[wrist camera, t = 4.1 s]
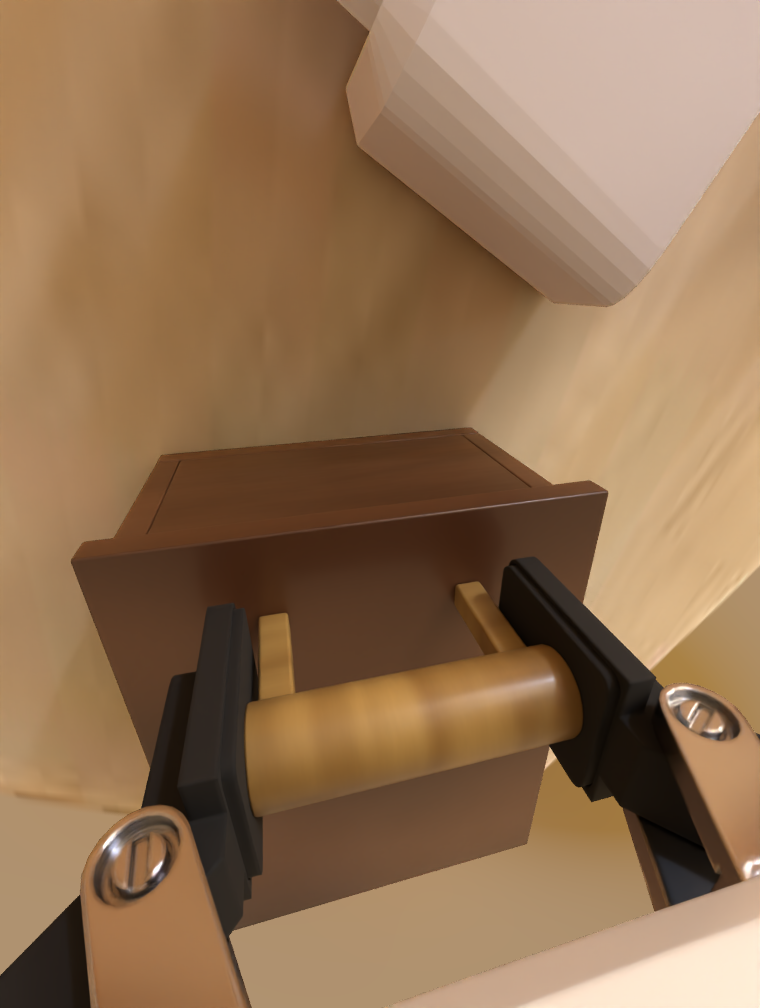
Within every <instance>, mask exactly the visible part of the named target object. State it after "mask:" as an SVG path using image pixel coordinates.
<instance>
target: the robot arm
mask: <svg viewBox="0 0 760 1008" xmlns="http://www.w3.org/2000/svg"><path fill="white" fill-rule="evenodd" d="M498 608H499V610H500V611H501V612H502V614H503V615H504V616H505V618H506V619H507V620H508V622H509V623H510V625H511V626H512V627H513V629H514V630H515V631H516V633H517V634H518V636H519V637H520V638H521V640H522V641H523V642H524V644H525V645H526V647H529V646H534V645H539V644H544V645H548V646H550V647H552V648H553V649H555V650H556V651H557V652H558V653H559V654H560V655H561V656H562V658H563V659H564V660H565V662H566V663H567V665H568V666H569V668H570V670H571V672H572V674H573V676H574V678H575V680H576V683H577V686H578V689H579V692H580V695H581V700H582V705H583V726H582V729H581V731H580V733H579V734H578V735H577V736H576V737H575V738H573V739H570V740H566V741H562V742H558V743H554V744H550V745H549V746H550V748H551V749H552V751H553V753H554V754H555V756H556V757H557V759H558V761H559V762H560V764H561V765H562V767H563V769H564V770H565V772H566V773H567V775H568V777H569V778H570V780H571V781H572V782H573V784H574V785H575V786H577V787H582V788H583V790H584V791H585V793H586V794H587V796H588V797H589V799H590V800H591V802H594V801H597V800H601V799H604V798H608V797H611V796H614V798H615V799H616V801H617V802H618V803H619V805H620V806H621V807H623V811H624V814H625V817H626V821H627V824H628V827H629V830H630V833H631V837H632V840H633V843H634V846H635V850H636V853H637V856H638V859H639V863H640V866H641V869H642V872H643V875H644V879H645V882H646V885H647V888H648V892H649V895H650V898H651V901H652V905H653V908H654V911H655V912H653V913H650V914H647V915H644V916H641V917H638V918H635V919H632V920H630V921H627V922H624V923H621V924H618V925H615V926H612V927H610V928H607V929H604V930H601V931H598V932H595V933H593V934H590V935H587V936H584V937H581V938H578V939H575V940H572V941H570V942H567V943H564V944H561V945H558V946H555V947H552V948H549V949H547V950H544V951H541V952H538V953H536V954H532V955H530V956H527V957H524V958H521V959H519V960H515V961H512V962H510V963H507V964H504V965H501V966H498V967H495V968H493V969H490V970H487V971H484V972H481V973H478V974H476V975H473V976H470V977H467V978H464V979H462V980H459V981H456V982H453V983H450V984H448V985H445V986H442V987H439V988H436V989H433V990H431V991H428V992H425V993H422V994H419V995H417V996H414V997H411V998H408V999H405V1000H403V1001H400V1002H397V1003H394V1004H391V1005H389V1006H386V1007H383V1008H760V735H759V734H757V733H755V732H754V730H753V729H752V727H751V726H750V724H749V723H748V721H747V720H746V718H745V717H744V716H743V715H742V713H741V712H740V711H739V710H738V709H737V708H736V707H735V706H734V705H733V704H732V703H730V702H729V701H728V700H726V699H725V698H723V697H722V696H720V695H718V694H717V693H715V692H713V691H711V690H708V689H706V688H704V687H701V686H698V685H693V684H689V683H674V684H671V685H668V686H666V687H665V688H663V687H662V686H661V685H660V684H659V683H658V682H657V681H656V680H655V679H656V677H655V676H654V675H653V674H652V673H651V672H650V671H649V670H648V669H647V668H646V667H645V666H644V665H643V664H642V663H641V662H640V661H639V660H638V659H637V658H636V657H635V656H634V655H633V654H632V653H631V652H630V651H629V650H628V649H627V648H626V647H625V646H624V645H623V644H622V643H621V642H620V641H619V640H618V639H617V638H616V637H615V636H614V635H613V634H612V633H611V632H610V631H609V630H608V629H607V628H606V627H605V626H604V625H603V624H602V623H601V622H600V621H599V620H598V619H597V618H596V617H595V616H594V615H593V614H592V613H591V612H590V611H589V610H588V609H587V608H586V607H585V606H584V605H583V604H582V603H581V602H580V601H579V600H578V599H577V598H576V597H575V596H574V595H573V594H572V593H571V592H570V591H569V590H568V589H567V588H566V587H565V586H564V585H563V584H562V583H561V582H560V581H559V580H558V579H557V578H556V577H555V576H554V574H553V573H552V572H551V571H550V570H549V569H548V568H547V567H546V566H545V565H544V564H543V563H542V562H541V561H540V560H539V559H537V558H536V557H533V556H532V557H525V558H519V559H513V560H511V561H510V563H509V566H506V567H505V568H504V570H503V576H502V584H501V592H500V599H499V607H498ZM257 700H258V675H257V669H256V664H255V659H254V654H253V648H252V643H251V638H250V633H249V627H248V622H247V617H246V612H245V608H239V609H236V607H235V604H234V603H229V604H222V605H216V606H209V607H207V610H206V615H205V621H204V627H203V633H202V640H201V646H200V652H199V658H198V664H197V670H196V671H195V672H190V673H185V674H179V675H174V676H173V677H172V679H171V681H170V684H169V688H168V693H167V697H166V702H165V706H164V710H163V715H162V719H161V724H160V728H159V732H158V737H157V741H156V746H155V750H154V754H153V759H152V763H151V768H150V772H149V776H148V781H147V785H146V790H145V794H144V798H143V803H142V807H141V809H139V810H137V811H134V812H132V813H130V814H128V815H127V816H125V817H124V818H123V819H121V820H120V821H118V822H117V823H116V824H114V825H113V826H112V827H111V828H110V829H109V830H108V831H107V833H106V834H104V835H103V837H102V838H101V839H100V840H99V841H98V843H97V844H96V846H95V847H94V849H93V851H92V852H91V854H90V855H89V857H88V859H87V862H86V865H85V867H84V870H83V873H82V876H81V889H80V895H79V896H78V897H77V898H76V899H75V900H74V901H73V902H72V903H71V904H70V905H69V907H67V908H66V909H65V910H64V911H63V912H62V914H60V915H59V916H58V917H57V919H55V920H54V921H53V923H52V924H51V925H50V926H49V927H48V928H47V929H46V930H45V931H44V932H43V933H42V934H41V935H40V936H39V937H38V938H37V939H36V940H35V941H34V942H33V943H32V944H31V945H30V946H29V947H28V948H27V949H26V950H25V951H24V952H23V953H22V954H21V955H20V956H19V957H18V958H17V959H16V960H15V961H14V962H13V963H12V964H11V965H10V966H9V967H8V968H7V969H6V970H5V971H4V972H3V973H2V974H1V976H0V1008H252V1007H251V1004H250V1001H249V998H248V995H247V992H246V988H245V985H244V982H243V979H242V976H241V973H240V970H239V967H238V963H237V960H236V957H235V954H234V951H233V947H232V944H231V941H230V938H229V935H230V934H231V933H232V931H233V930H234V928H235V927H236V925H237V924H238V922H239V921H240V920H241V918H242V917H243V901H245V900H248V899H252V877H255V876H259V875H262V872H263V816H261V817H254V816H253V814H252V811H251V807H250V803H249V797H248V790H247V781H246V771H245V756H244V717H245V709H246V705H247V704H248V703H249V702H252V701H257Z"/></svg>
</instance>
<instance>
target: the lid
mask: <svg viewBox="0 0 760 1008" xmlns="http://www.w3.org/2000/svg"><path fill="white" fill-rule="evenodd" d="M607 497H608V491H607V490H605V489H603V488H602V487H600V486H599V485H597V484H595V483H594V482H592V481H581V482H572V483H564V484H556V485H548V486H540V487H531V488H523V489H515V490H507V491H498V492H490V493H482V494H474V495H465V496H457V497H449V498H441V499H432V500H424V501H416V502H408V503H399V504H391V505H383V506H375V507H367V508H358V509H350V510H342V511H334V512H325V513H317V514H309V515H301V516H292V517H284V518H276V519H268V520H259V521H251V522H243V523H235V524H227V525H218V526H210V527H202V528H194V529H185V530H177V531H169V532H161V533H152V534H144V535H136V536H128V537H119V538H111V539H103V540H95V541H86V542H83V543H82V544H81V546H80V547H79V549H78V550H77V552H76V553H75V555H74V556H73V558H72V559H71V564H72V566H73V569H74V571H75V574H76V577H77V579H78V582H79V584H80V587H81V590H82V592H83V595H84V597H85V600H86V603H87V605H88V608H89V610H90V613H91V616H92V618H93V621H94V623H95V626H96V628H97V631H98V634H99V636H100V639H101V641H102V644H103V647H104V649H105V652H106V654H107V657H108V660H109V662H110V665H111V667H112V670H113V673H114V675H115V678H116V680H117V683H118V685H119V688H120V691H121V693H122V696H123V698H124V701H125V704H126V706H127V709H128V711H129V714H130V717H131V719H132V722H133V724H134V727H135V729H136V732H137V735H138V737H139V740H140V742H141V745H142V748H143V750H144V753H145V755H146V758H147V761H148V763H149V766H150V768H151V763H152V759H153V754H154V750H155V746H156V741H157V737H158V732H159V728H160V724H161V719H162V715H163V710H164V706H165V702H166V697H167V693H168V688H169V684H170V681H171V679H172V677H173V676H174V675H179V674H185V673H190V672H195V671H196V670H197V664H198V658H199V652H200V646H201V640H202V633H203V627H204V621H205V615H206V610H207V607H209V606H216V605H222V604H229V603H234V604H235V607H236V609H239V608H245V612H246V617H247V622H248V627H249V633H250V638H251V643H252V648H253V654H254V659H255V664H256V669H257V675H258V700H257V701H252V702H249V703H248V704H247V705H246V709H245V717H244V756H245V771H246V781H247V790H248V797H249V803H250V807H251V811H252V814H253V816H254V817H261V816H263V872H262V875H259V876H255V877H252V899H248V900H245V901H243V917H242V918H241V920H240V921H239V922H238V924H237V925H236V927H235V928H234V930H237V929H240V928H243V927H247V926H250V925H254V924H257V923H261V922H264V921H267V920H271V919H274V918H277V917H281V916H284V915H287V914H291V913H294V912H298V911H301V910H305V909H308V908H311V907H315V906H318V905H321V904H325V903H328V902H332V901H335V900H338V899H342V898H345V897H349V896H352V895H355V894H359V893H362V892H366V891H369V890H372V889H376V888H379V887H382V886H386V885H389V884H393V883H396V882H399V881H403V880H406V879H410V878H413V877H416V876H420V875H423V874H426V873H430V872H433V871H437V870H440V869H443V868H447V867H450V866H453V865H457V864H460V863H464V862H467V861H470V860H474V859H477V858H481V857H484V856H487V855H491V854H494V853H497V852H501V851H504V850H507V849H511V848H514V847H518V846H521V845H525V844H527V841H528V836H529V832H530V829H531V824H532V820H533V815H534V811H535V807H536V803H537V798H538V794H539V790H540V785H541V781H542V777H543V772H544V768H545V764H546V760H547V755H548V751H549V747H550V746H549V745H550V744H554V743H558V742H562V741H566V740H570V739H573V738H575V737H576V736H577V735H578V734H579V733H580V731H581V729H582V726H583V705H582V700H581V695H580V692H579V689H578V686H577V683H576V680H575V678H574V676H573V674H572V672H571V670H570V668H569V666H568V665H567V663H566V662H565V660H564V659H563V658H562V656H561V655H560V654H559V653H558V652H557V651H556V650H555V649H553V648H552V647H550V646H548V645H544V644H539V645H534V646H529V647H526V645H525V644H524V642H523V641H522V640H521V638H520V637H519V636H518V634H517V633H516V631H515V630H514V629H513V627H512V626H511V625H510V623H509V622H508V620H507V619H506V618H505V616H504V615H503V614H502V612H501V611H500V610H499V608H498V607H499V599H500V592H501V584H502V576H503V570H504V568H505V567H506V566H509V563H510V561H511V560H513V559H519V558H525V557H532V556H533V557H536V558H537V559H539V560H540V561H541V562H542V563H543V564H544V565H545V566H546V567H547V568H548V569H549V570H550V571H551V572H552V573H553V574H554V576H555V577H556V578H557V579H558V580H559V581H560V582H561V583H562V584H563V585H564V586H565V587H566V588H567V589H568V590H569V591H570V592H571V593H572V594H573V595H574V596H575V597H576V598H577V599H578V600H579V601H580V602H581V603H582V604H583V600H584V596H585V592H586V587H587V583H588V579H589V574H590V570H591V566H592V562H593V557H594V553H595V549H596V544H597V540H598V536H599V531H600V527H601V523H602V518H603V514H604V510H605V506H606V501H607ZM234 930H233V931H234Z"/></svg>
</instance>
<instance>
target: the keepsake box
mask: <svg viewBox="0 0 760 1008" xmlns="http://www.w3.org/2000/svg"><path fill="white" fill-rule="evenodd" d="M548 485H553V484H551V483H550V482H548V481H547V480H546V479H544V478H543V477H541V476H540V475H538V474H537V473H535V472H534V471H533V470H531V469H530V468H528V467H527V466H525V465H524V464H522V463H521V462H520V461H518V460H517V459H515V458H514V457H512V456H511V455H509V454H508V453H507V452H505V451H504V450H502V449H501V448H499V447H498V446H497V445H495V444H494V443H492V442H491V441H489V440H488V439H486V438H485V437H484V436H482V435H481V434H479V433H478V432H477V431H475V430H474V429H472V428H459V429H448V430H437V431H426V432H415V433H404V434H392V435H381V436H370V437H359V438H348V439H336V440H325V441H314V442H303V443H292V444H280V445H269V446H258V447H247V448H236V449H224V450H213V451H202V452H191V453H180V454H168V455H161V457H160V458H159V460H158V462H157V464H156V466H155V467H154V469H153V471H152V473H151V474H150V476H149V478H148V479H147V481H146V483H145V485H144V486H143V488H142V490H141V492H140V493H139V495H138V497H137V499H136V500H135V502H134V504H133V506H132V507H131V509H130V511H129V513H128V514H127V516H126V518H125V519H124V521H123V523H122V525H121V526H120V528H119V530H118V532H117V533H116V535H115V537H114V538H119V537H128V536H136V535H144V534H152V533H161V532H169V531H177V530H185V529H194V528H202V527H210V526H218V525H227V524H235V523H243V522H251V521H259V520H268V519H276V518H284V517H292V516H301V515H309V514H317V513H325V512H334V511H342V510H350V509H358V508H367V507H375V506H383V505H391V504H399V503H408V502H416V501H424V500H432V499H441V498H449V497H457V496H465V495H474V494H482V493H490V492H498V491H507V490H515V489H523V488H531V487H540V486H548Z"/></svg>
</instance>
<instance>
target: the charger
mask: <svg viewBox="0 0 760 1008" xmlns="http://www.w3.org/2000/svg"><path fill="white" fill-rule="evenodd" d="M336 1H338V2H339V3H340V4H341V5H342V6H343V7H344V8H345V9H346V10H347V11H348V12H349V13H350V14H351V15H352V16H354V17H355V18H356V19H357V20H358V21H359V22H360V23H361V24H362V25H363V26H364V27H365V28H366V29H367V30H369V31H370V32H369V34H368V37H367V39H366V41H365V44H364V46H363V48H362V51H361V53H360V55H359V58H358V60H357V62H356V65H355V67H354V69H353V71H352V74H351V76H350V78H349V81H348V83H347V85H346V88H345V89H346V94H347V99H348V104H349V109H350V113H351V118H352V123H353V128H354V133H355V138H356V143H357V146H358V147H360V148H361V149H362V150H363V151H365V152H366V153H367V154H368V155H370V156H371V157H372V158H373V159H375V160H376V161H377V162H378V163H380V164H381V165H382V166H383V167H384V168H386V169H387V170H388V171H389V172H391V173H392V174H393V175H394V176H396V177H397V178H398V179H399V180H401V181H402V182H403V183H404V184H406V185H407V186H408V187H409V188H411V189H412V190H413V191H414V192H416V193H417V194H418V195H419V196H421V197H422V198H423V199H424V200H426V201H427V202H428V203H429V204H431V205H432V206H433V207H434V208H436V209H437V210H438V211H439V212H441V213H442V214H443V215H444V216H445V217H447V218H448V219H449V220H450V221H452V222H453V223H454V224H455V225H457V226H458V227H459V228H460V229H462V230H463V231H464V232H465V233H467V234H468V235H469V236H470V237H472V238H473V239H474V240H475V241H477V242H478V243H479V244H480V245H482V246H483V247H484V248H485V249H487V250H488V251H489V252H490V253H492V254H493V255H494V256H495V257H497V258H498V259H499V260H500V261H502V262H503V263H504V264H505V265H506V266H508V267H509V268H510V269H511V270H513V271H514V272H515V273H516V274H518V275H519V276H520V277H521V278H523V279H524V280H525V281H526V282H528V283H529V284H530V285H531V286H533V287H534V288H535V289H536V290H538V291H539V292H540V293H541V294H543V295H544V296H545V297H546V298H548V299H549V300H550V301H551V302H553V303H558V304H572V305H586V306H599V307H608V306H612V305H614V304H616V303H617V302H619V301H620V300H622V299H623V298H624V297H626V296H627V295H628V294H629V293H630V292H631V291H632V290H633V289H634V288H635V287H636V286H637V285H638V284H639V283H640V282H641V281H642V279H643V278H644V277H645V276H646V275H647V274H648V273H649V271H650V270H651V269H652V268H653V266H654V265H655V264H656V262H657V261H658V260H659V258H660V257H661V255H662V254H663V253H664V251H665V250H666V248H667V247H668V245H669V244H670V243H671V241H672V240H673V238H674V237H675V235H676V234H677V232H678V231H679V229H680V228H681V226H682V225H683V224H684V222H685V221H686V219H687V218H688V216H689V215H690V213H691V212H692V210H693V209H694V207H695V206H696V205H697V203H698V202H699V200H700V199H701V197H702V196H703V194H704V193H705V191H706V190H707V188H708V187H709V186H710V184H711V183H712V181H713V180H714V178H715V177H716V175H717V174H718V172H719V171H720V169H721V168H722V167H723V165H724V164H725V162H726V161H727V159H728V158H729V156H730V155H731V153H732V152H733V150H734V149H735V147H736V146H737V145H738V143H739V142H740V140H741V139H742V137H743V136H744V134H745V133H746V131H747V130H748V128H749V127H750V126H751V124H752V123H753V121H754V120H755V118H756V117H757V115H758V114H759V112H760V0H336Z"/></svg>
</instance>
